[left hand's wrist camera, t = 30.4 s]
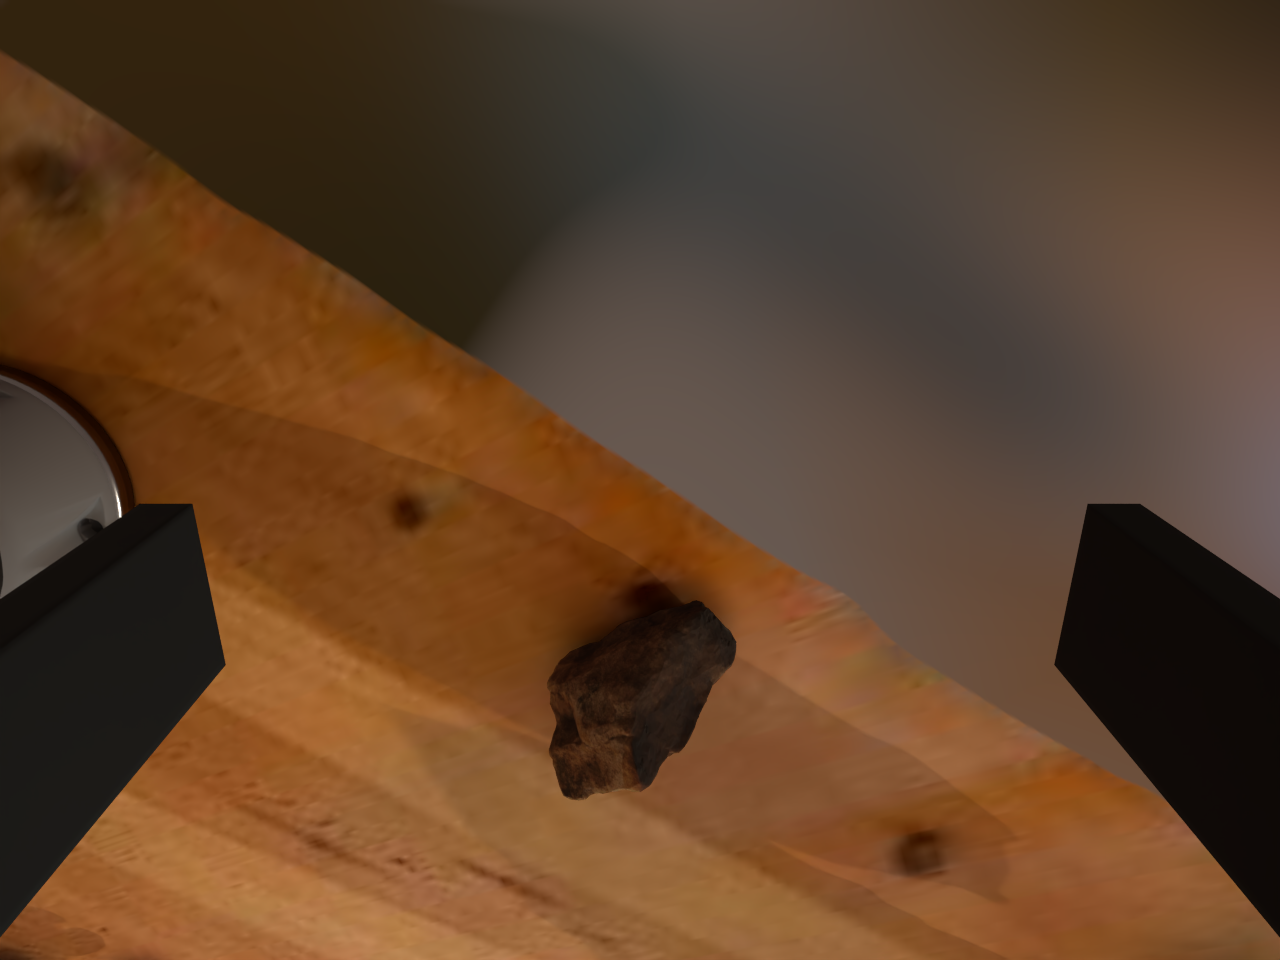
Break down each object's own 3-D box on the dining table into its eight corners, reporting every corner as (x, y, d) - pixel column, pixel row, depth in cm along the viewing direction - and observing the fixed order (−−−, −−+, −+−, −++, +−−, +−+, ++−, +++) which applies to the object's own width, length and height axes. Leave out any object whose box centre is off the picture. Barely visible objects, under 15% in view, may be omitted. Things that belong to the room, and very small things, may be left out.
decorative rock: (579, 716, 56) (566, 839, 45) (535, 646, 54) (511, 758, 44) (743, 647, 54) (767, 759, 44) (704, 572, 52) (720, 671, 42)
